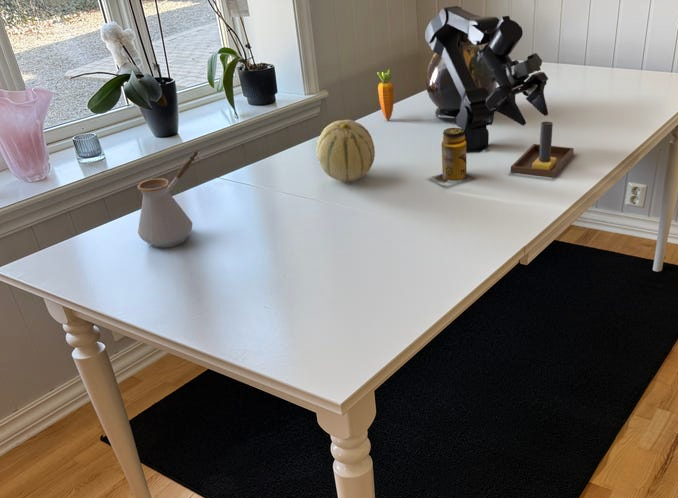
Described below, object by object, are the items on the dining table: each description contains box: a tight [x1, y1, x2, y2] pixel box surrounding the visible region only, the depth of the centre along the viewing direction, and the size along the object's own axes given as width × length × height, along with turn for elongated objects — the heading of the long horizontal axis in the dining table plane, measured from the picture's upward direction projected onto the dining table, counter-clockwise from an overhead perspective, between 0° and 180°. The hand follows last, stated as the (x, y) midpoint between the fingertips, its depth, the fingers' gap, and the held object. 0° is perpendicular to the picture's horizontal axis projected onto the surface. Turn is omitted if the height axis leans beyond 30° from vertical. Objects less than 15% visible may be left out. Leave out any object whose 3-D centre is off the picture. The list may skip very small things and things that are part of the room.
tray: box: [510, 143, 575, 179], centre depth 177 cm, size 18×11×2 cm, turn 154°
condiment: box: [429, 127, 467, 186], centre depth 170 cm, size 7×8×12 cm
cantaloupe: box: [316, 119, 376, 183], centre depth 172 cm, size 15×15×15 cm
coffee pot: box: [136, 150, 204, 249], centre depth 151 cm, size 21×12×15 cm, turn 155°
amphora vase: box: [425, 14, 498, 124], centre depth 207 cm, size 22×22×28 cm
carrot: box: [376, 69, 395, 122], centre depth 211 cm, size 5×5×15 cm
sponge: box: [532, 121, 557, 171], centre depth 170 cm, size 6×4×12 cm
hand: (536, 119), depth 169 cm, fingers open, 9 cm apart
